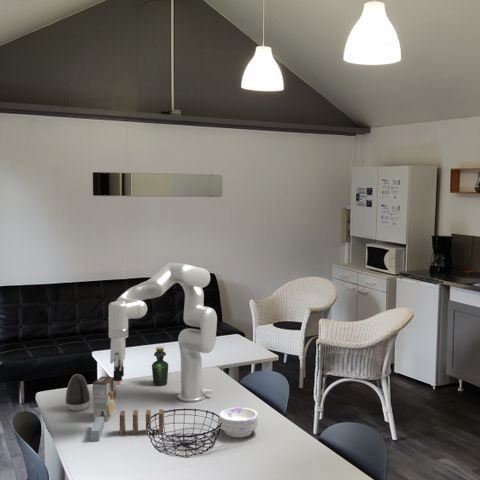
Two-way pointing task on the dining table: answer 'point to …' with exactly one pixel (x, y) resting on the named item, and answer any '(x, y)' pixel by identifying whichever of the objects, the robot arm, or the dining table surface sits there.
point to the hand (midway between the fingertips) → (118, 378)
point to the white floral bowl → (238, 421)
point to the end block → (97, 428)
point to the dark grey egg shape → (77, 393)
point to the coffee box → (104, 398)
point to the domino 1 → (118, 381)
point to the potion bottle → (160, 368)
